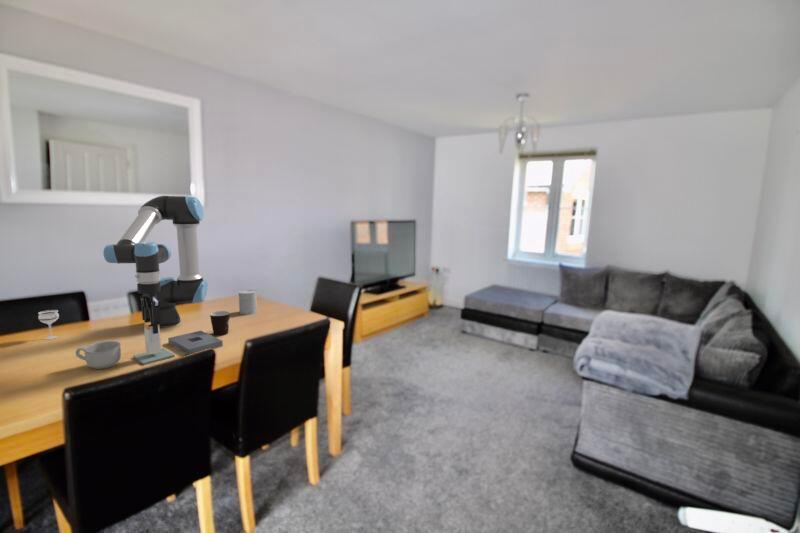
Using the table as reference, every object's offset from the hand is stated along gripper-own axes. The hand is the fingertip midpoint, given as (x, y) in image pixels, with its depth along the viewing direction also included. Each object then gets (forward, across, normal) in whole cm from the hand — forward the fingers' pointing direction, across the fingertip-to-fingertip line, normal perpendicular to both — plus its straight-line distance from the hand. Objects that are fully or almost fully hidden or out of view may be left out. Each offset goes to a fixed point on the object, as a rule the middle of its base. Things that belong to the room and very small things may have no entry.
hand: (152, 339), depth 150 cm
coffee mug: (+8, -9, +33) cm, 35 cm away
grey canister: (+8, -32, +60) cm, 68 cm away
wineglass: (+8, -56, -21) cm, 60 cm away
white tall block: (+5, 0, 0) cm, 5 cm away
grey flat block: (+7, -2, +17) cm, 19 cm away
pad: (+7, 0, 0) cm, 7 cm away
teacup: (+8, -6, -16) cm, 19 cm away
